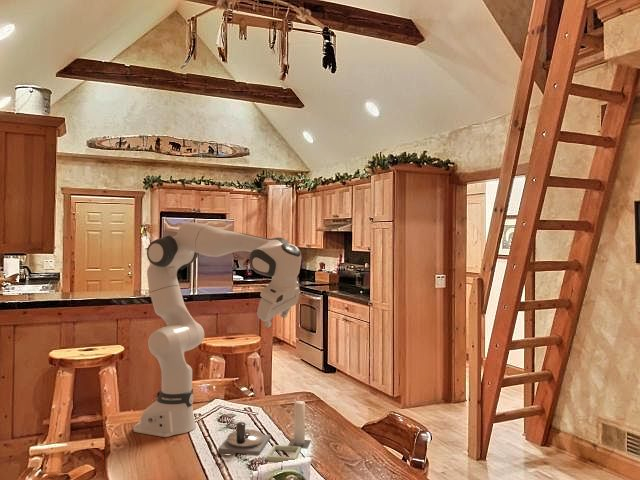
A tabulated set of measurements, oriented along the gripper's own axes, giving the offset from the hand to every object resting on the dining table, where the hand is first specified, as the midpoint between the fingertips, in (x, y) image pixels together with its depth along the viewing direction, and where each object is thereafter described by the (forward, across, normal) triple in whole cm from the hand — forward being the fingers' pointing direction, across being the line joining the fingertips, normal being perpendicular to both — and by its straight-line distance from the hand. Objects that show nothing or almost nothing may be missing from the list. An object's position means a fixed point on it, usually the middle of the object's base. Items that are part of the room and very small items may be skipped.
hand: (275, 321), depth 179 cm
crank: (+33, +22, +12) cm, 41 cm away
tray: (+29, +22, +27) cm, 45 cm away
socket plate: (+32, +12, +27) cm, 43 cm away
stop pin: (+31, +12, +27) cm, 42 cm away
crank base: (+35, +23, +12) cm, 44 cm away
